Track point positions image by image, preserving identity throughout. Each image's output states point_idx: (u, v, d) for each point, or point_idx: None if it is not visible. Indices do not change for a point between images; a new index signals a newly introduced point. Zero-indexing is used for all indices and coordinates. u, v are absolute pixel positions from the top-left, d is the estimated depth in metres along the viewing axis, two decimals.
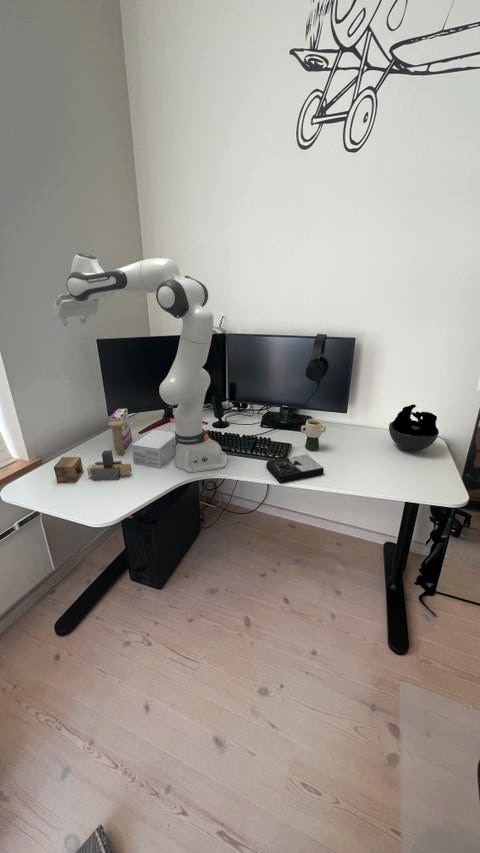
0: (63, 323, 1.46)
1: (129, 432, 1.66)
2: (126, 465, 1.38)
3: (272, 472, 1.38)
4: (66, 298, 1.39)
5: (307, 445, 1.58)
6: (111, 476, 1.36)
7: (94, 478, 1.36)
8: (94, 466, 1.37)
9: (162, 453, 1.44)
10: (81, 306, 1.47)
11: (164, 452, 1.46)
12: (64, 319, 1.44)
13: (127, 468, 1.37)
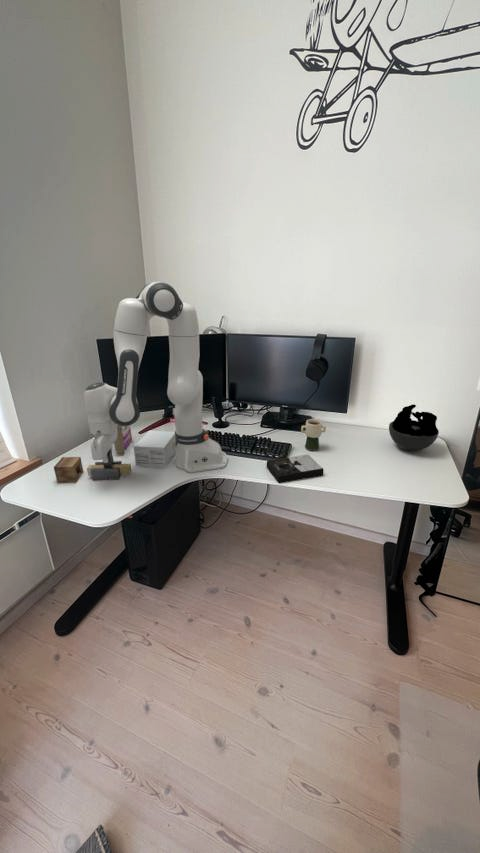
0: (105, 460, 1.33)
1: (129, 432, 1.66)
2: (126, 465, 1.38)
3: (271, 471, 1.39)
4: (98, 437, 1.26)
5: (307, 445, 1.58)
6: (111, 476, 1.36)
7: (94, 478, 1.36)
8: (94, 466, 1.37)
9: (166, 452, 1.45)
10: (109, 437, 1.33)
11: (167, 450, 1.47)
12: (106, 455, 1.32)
13: (127, 468, 1.37)
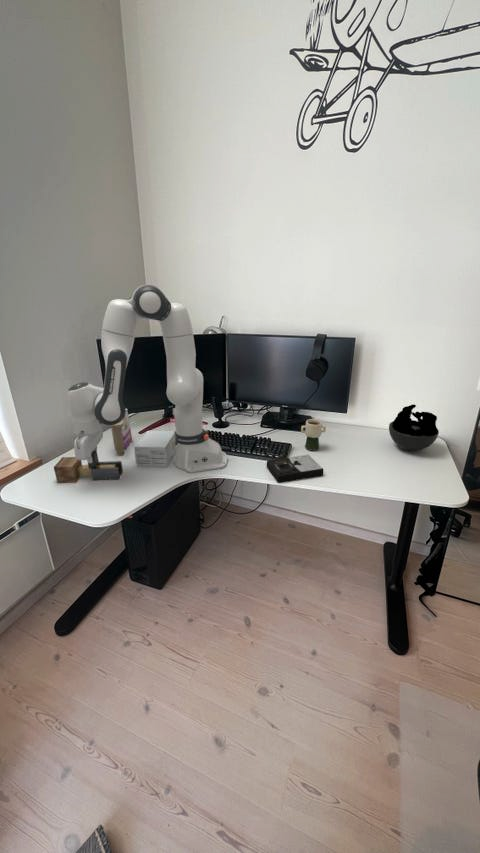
0: (90, 460, 1.33)
1: (129, 432, 1.66)
2: (111, 465, 1.37)
3: (271, 471, 1.39)
4: (82, 437, 1.25)
5: (307, 445, 1.58)
6: (111, 476, 1.36)
7: (94, 478, 1.36)
8: (79, 466, 1.37)
9: (167, 452, 1.45)
10: (93, 437, 1.33)
11: (168, 450, 1.47)
12: (90, 455, 1.31)
13: None
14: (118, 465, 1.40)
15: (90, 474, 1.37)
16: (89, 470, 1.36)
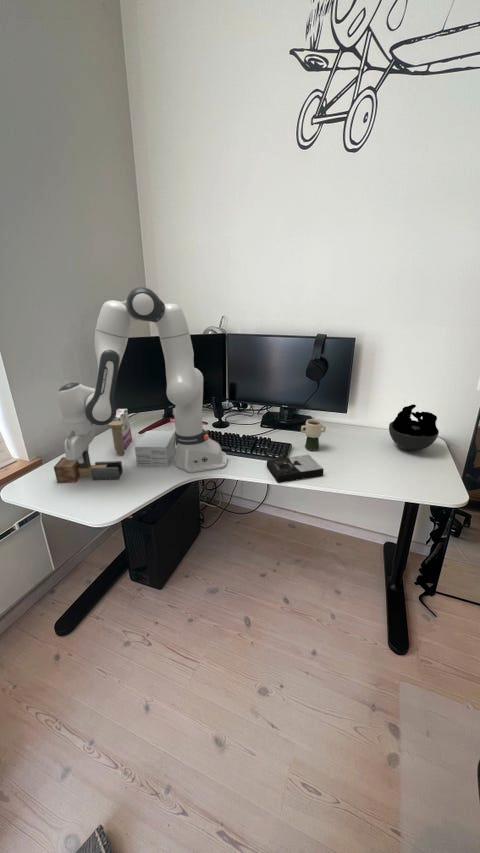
0: (81, 461, 1.33)
1: (129, 432, 1.66)
2: (102, 466, 1.37)
3: (271, 471, 1.39)
4: (72, 437, 1.25)
5: (307, 445, 1.58)
6: (111, 476, 1.36)
7: (94, 478, 1.36)
8: None
9: (168, 452, 1.46)
10: (84, 437, 1.33)
11: (169, 450, 1.47)
12: (81, 456, 1.31)
13: None
14: (118, 465, 1.40)
15: (81, 474, 1.37)
16: (80, 470, 1.36)
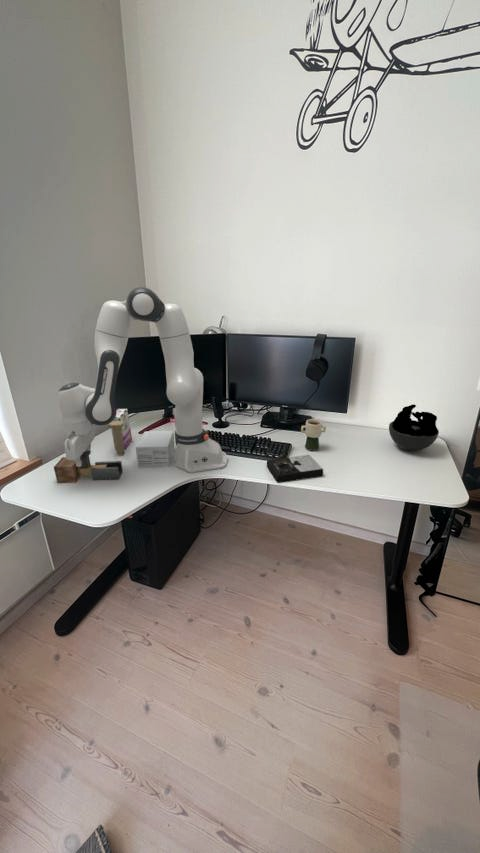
0: (79, 464, 1.30)
1: (129, 432, 1.66)
2: (102, 466, 1.37)
3: (271, 471, 1.39)
4: (72, 437, 1.25)
5: (307, 445, 1.58)
6: (111, 476, 1.36)
7: (94, 478, 1.36)
8: None
9: (169, 451, 1.46)
10: (84, 437, 1.33)
11: (170, 449, 1.48)
12: (79, 459, 1.29)
13: None
14: (118, 465, 1.40)
15: (81, 474, 1.37)
16: (80, 470, 1.36)
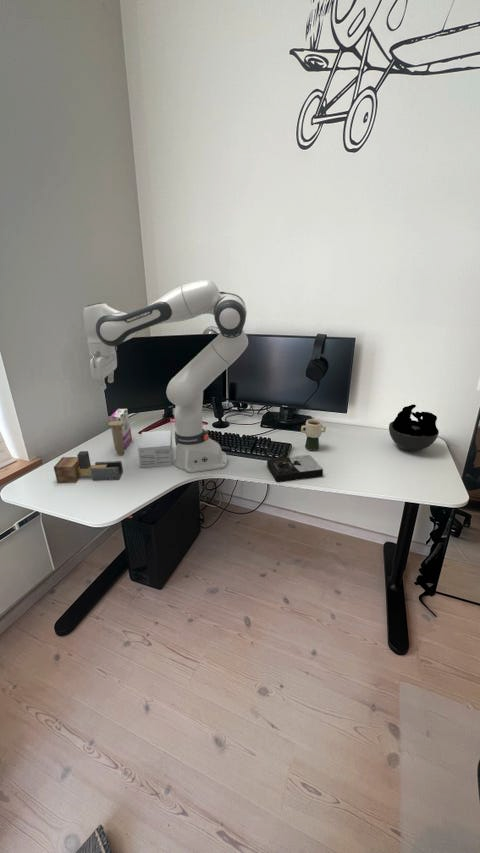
0: (103, 387, 1.30)
1: (129, 432, 1.66)
2: (102, 466, 1.37)
3: (271, 470, 1.39)
4: (98, 357, 1.24)
5: (307, 445, 1.58)
6: (111, 476, 1.36)
7: (94, 478, 1.36)
8: None
9: (171, 450, 1.47)
10: (108, 362, 1.32)
11: (171, 448, 1.49)
12: (103, 381, 1.28)
13: None
14: (118, 465, 1.40)
15: (81, 474, 1.37)
16: (80, 470, 1.36)
